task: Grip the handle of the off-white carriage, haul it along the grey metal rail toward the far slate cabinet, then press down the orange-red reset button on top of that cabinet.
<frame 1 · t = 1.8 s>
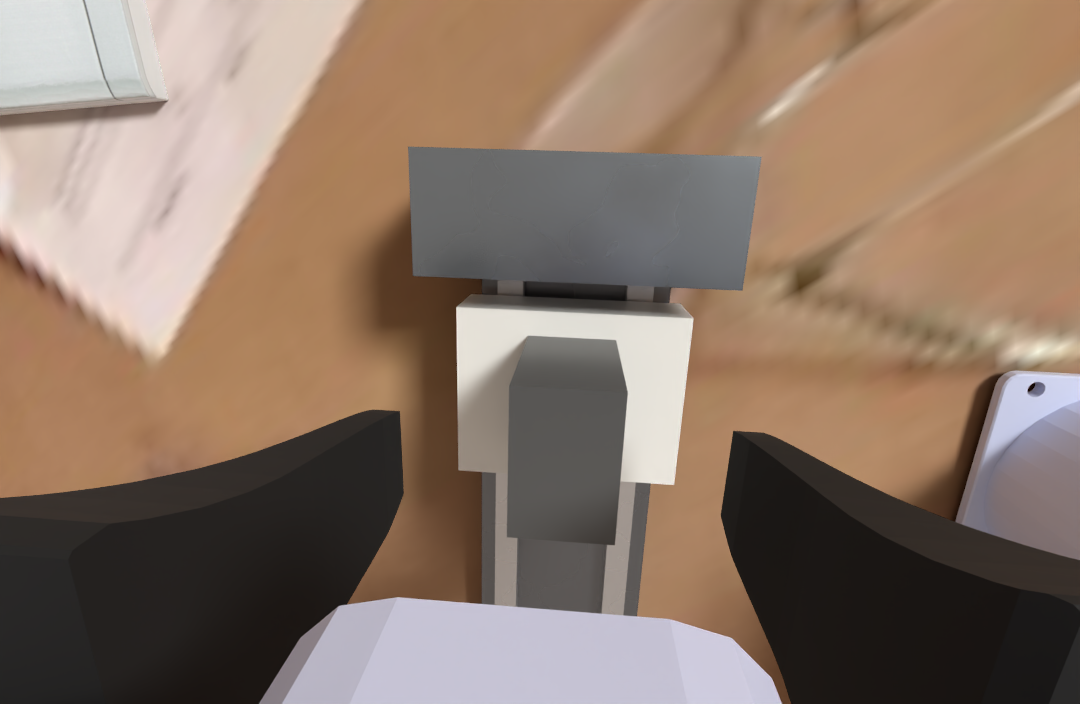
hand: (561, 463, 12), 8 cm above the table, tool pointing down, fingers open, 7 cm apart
rail base: (561, 563, 21), on the table
carriage: (567, 412, 14), point 5 cm above the table, slide at 0.0 cm
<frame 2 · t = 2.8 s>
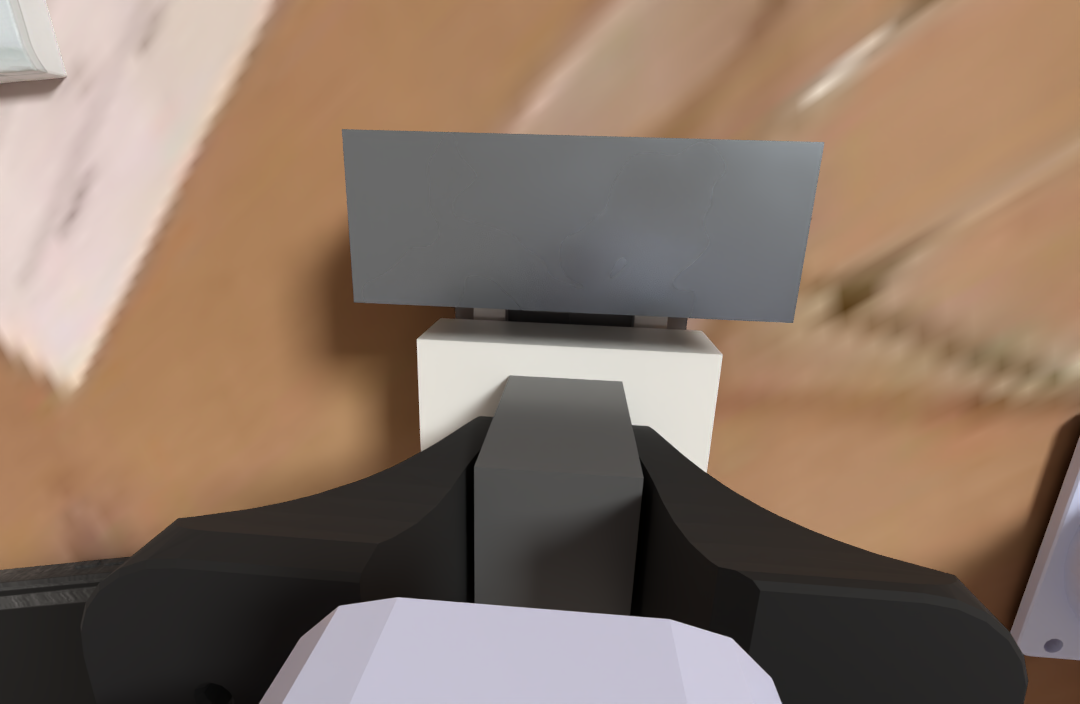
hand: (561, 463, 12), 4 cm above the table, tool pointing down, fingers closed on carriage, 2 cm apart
rail base: (554, 629, 18), on the table
carriage: (560, 477, 11), point 5 cm above the table, slide at 0.0 cm, touching gripper
phone: (83, 641, 20), on the table
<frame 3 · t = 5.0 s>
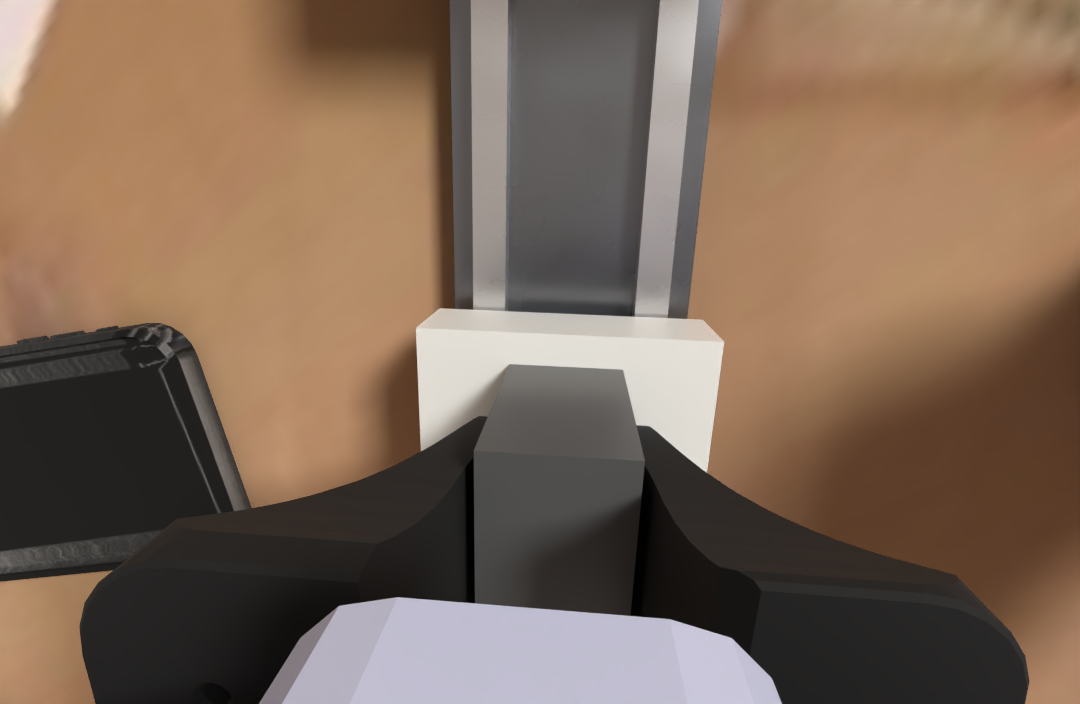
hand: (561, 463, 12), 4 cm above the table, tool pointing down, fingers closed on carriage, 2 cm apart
rail base: (565, 407, 16), on the table
carriage: (560, 466, 11), point 5 cm above the table, slide at 7.8 cm, touching gripper
phone: (33, 454, 18), on the table
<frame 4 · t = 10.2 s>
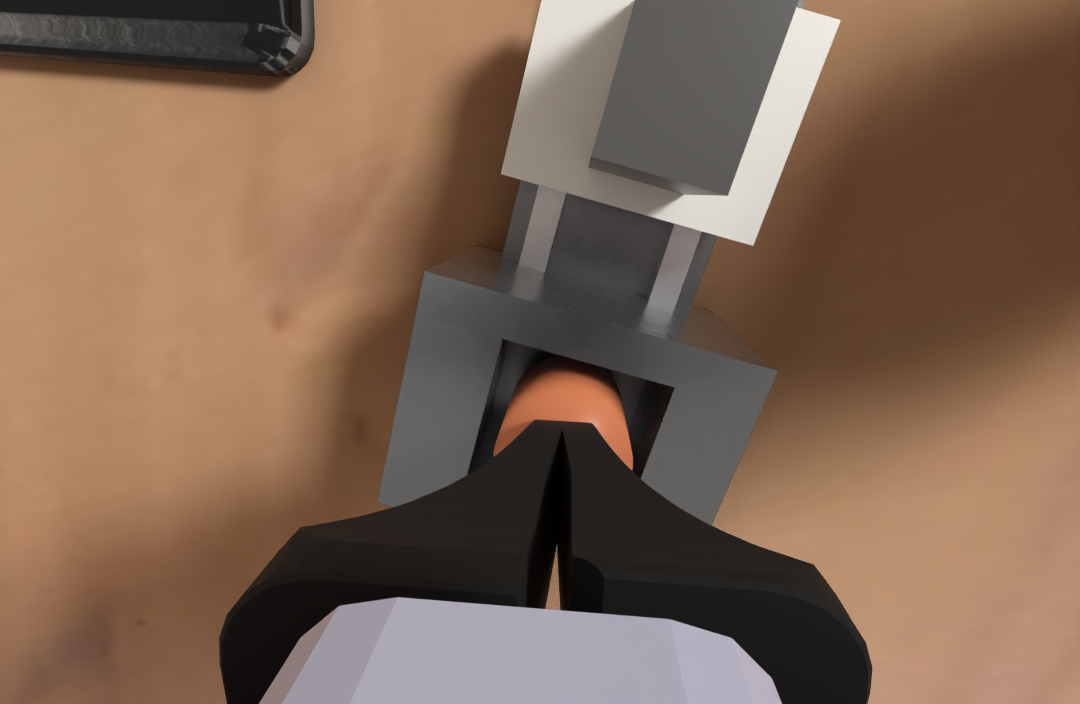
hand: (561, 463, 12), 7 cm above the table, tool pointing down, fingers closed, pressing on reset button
reset button: (564, 433, 13), point 6 cm above the table, slide at 0.4 cm, touching gripper
carriage: (667, 93, 11), point 5 cm above the table, slide at 12.6 cm
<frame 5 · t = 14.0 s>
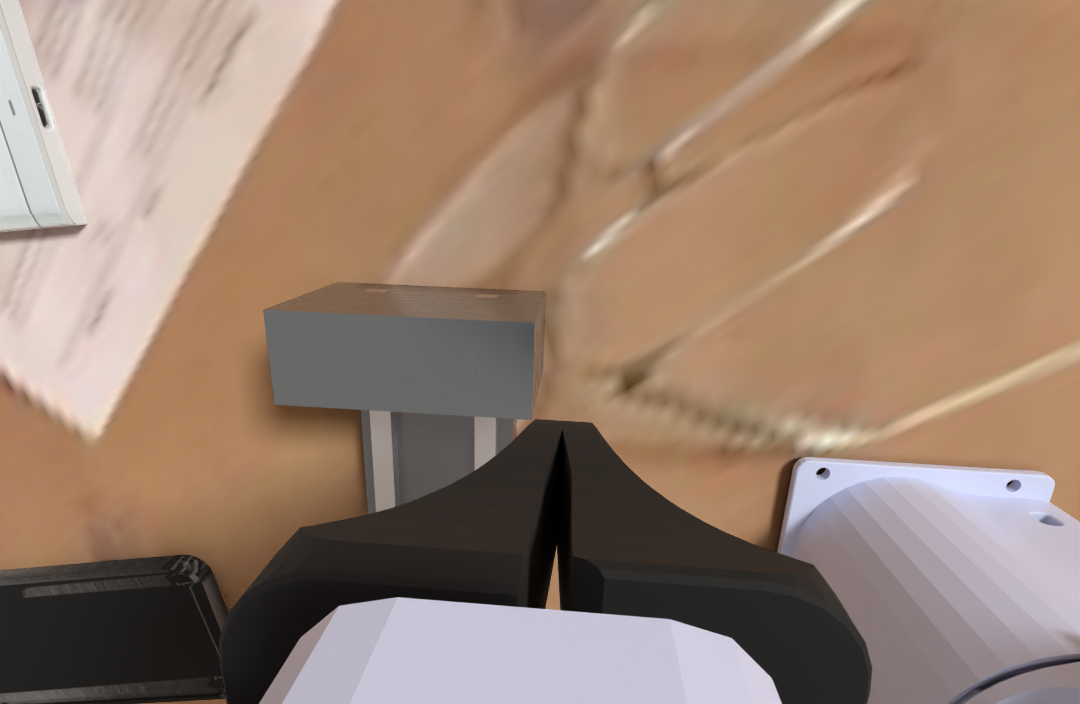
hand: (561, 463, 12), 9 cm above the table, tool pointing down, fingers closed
rail base: (447, 610, 25), on the table
phone: (100, 621, 27), on the table
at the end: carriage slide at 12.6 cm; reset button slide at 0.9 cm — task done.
